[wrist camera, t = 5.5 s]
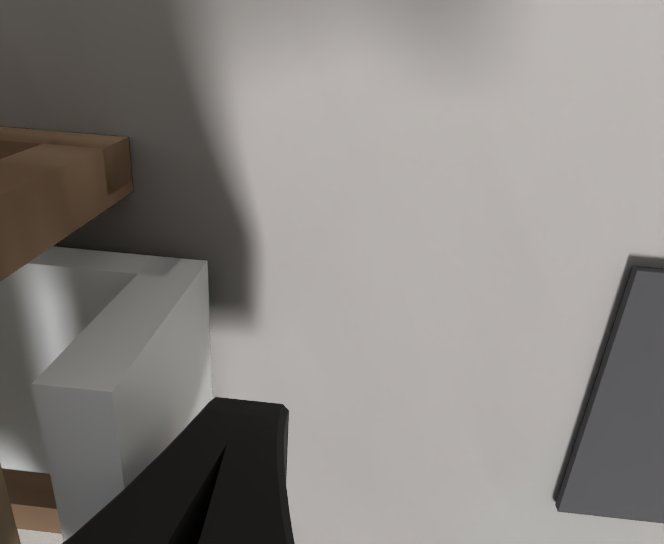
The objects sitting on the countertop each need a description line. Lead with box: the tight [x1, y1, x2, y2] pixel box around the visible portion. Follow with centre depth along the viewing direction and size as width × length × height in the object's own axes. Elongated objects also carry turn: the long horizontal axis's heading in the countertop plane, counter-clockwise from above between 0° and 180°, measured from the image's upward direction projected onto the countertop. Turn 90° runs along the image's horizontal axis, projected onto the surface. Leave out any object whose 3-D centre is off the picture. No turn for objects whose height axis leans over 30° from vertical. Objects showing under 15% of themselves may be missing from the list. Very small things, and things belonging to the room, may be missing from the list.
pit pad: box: [555, 266, 664, 523], centre depth 11 cm, size 6×3×1 cm, turn 176°
